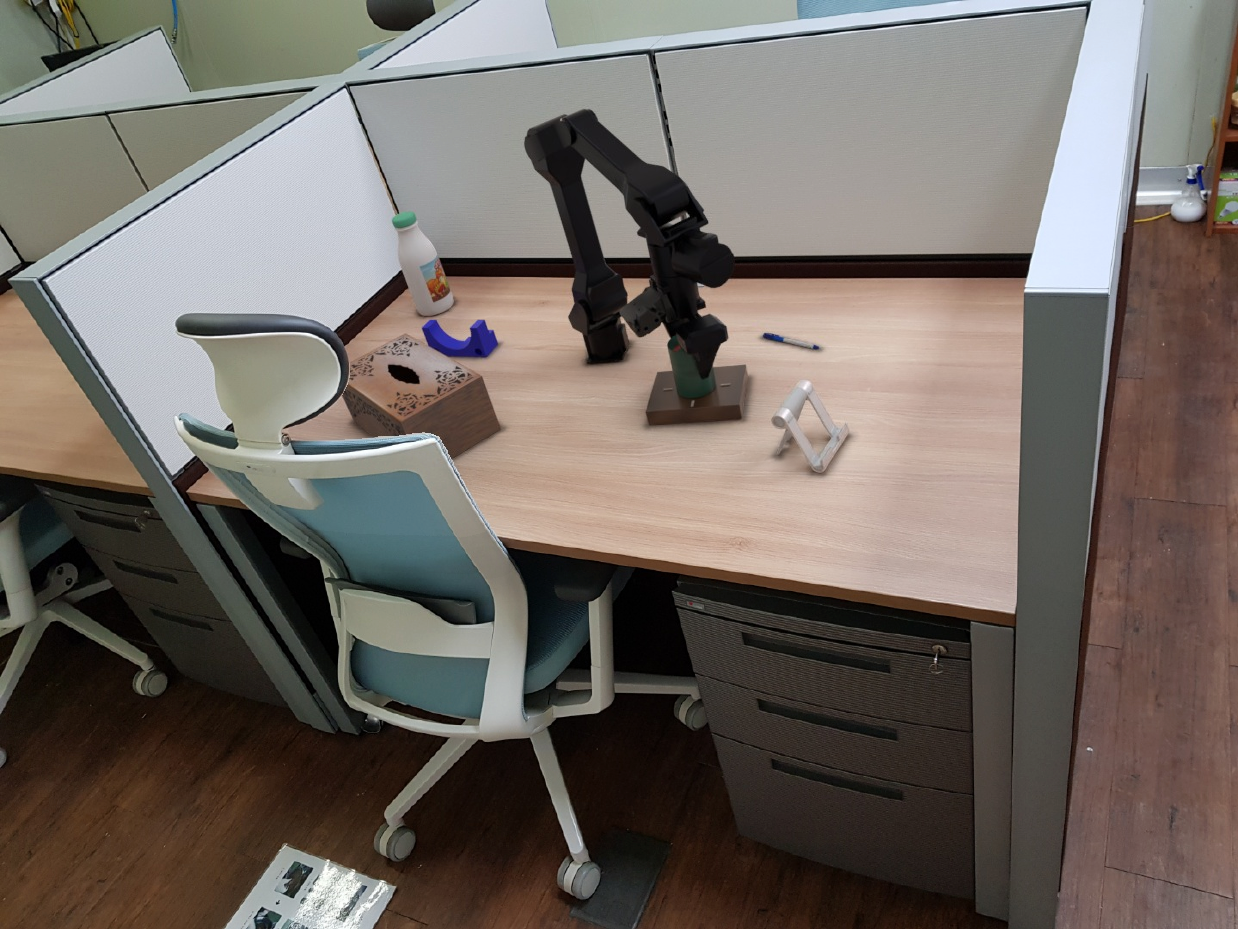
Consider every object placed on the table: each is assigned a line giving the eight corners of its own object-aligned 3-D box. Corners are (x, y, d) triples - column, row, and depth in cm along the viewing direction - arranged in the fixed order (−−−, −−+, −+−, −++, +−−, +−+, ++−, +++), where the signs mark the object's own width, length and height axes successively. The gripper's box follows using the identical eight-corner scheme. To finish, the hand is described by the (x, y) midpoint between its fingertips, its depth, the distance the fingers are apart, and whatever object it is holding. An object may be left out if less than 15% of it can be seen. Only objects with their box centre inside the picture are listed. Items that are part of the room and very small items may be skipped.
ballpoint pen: (761, 338, 152) (761, 333, 151) (764, 336, 152) (764, 330, 152) (817, 350, 145) (817, 345, 145) (820, 347, 146) (820, 342, 145)
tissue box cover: (500, 428, 147) (482, 375, 141) (423, 475, 141) (400, 421, 135) (425, 381, 165) (405, 333, 159) (353, 421, 159) (331, 372, 153)
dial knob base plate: (648, 425, 138) (645, 410, 137) (660, 385, 147) (656, 370, 145) (741, 419, 135) (739, 403, 133) (748, 377, 143) (745, 363, 141)
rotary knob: (692, 373, 143) (683, 326, 138) (724, 381, 139) (715, 332, 134) (668, 393, 140) (658, 345, 135) (700, 402, 136) (690, 353, 131)
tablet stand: (825, 474, 120) (819, 421, 116) (770, 464, 125) (762, 413, 120) (849, 436, 126) (845, 384, 121) (795, 427, 130) (789, 377, 125)
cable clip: (498, 344, 171) (488, 315, 167) (486, 357, 167) (476, 328, 164) (444, 343, 176) (434, 315, 172) (432, 355, 172) (421, 327, 169)
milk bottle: (424, 320, 186) (388, 227, 174) (414, 308, 192) (378, 217, 180) (459, 306, 188) (426, 213, 176) (448, 294, 194) (415, 203, 182)
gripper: (599, 265, 134) (622, 357, 143) (642, 313, 119) (665, 412, 128) (669, 240, 136) (687, 333, 145) (721, 284, 121) (738, 385, 130)
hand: (692, 364), depth 137 cm, fingers open, 9 cm apart
